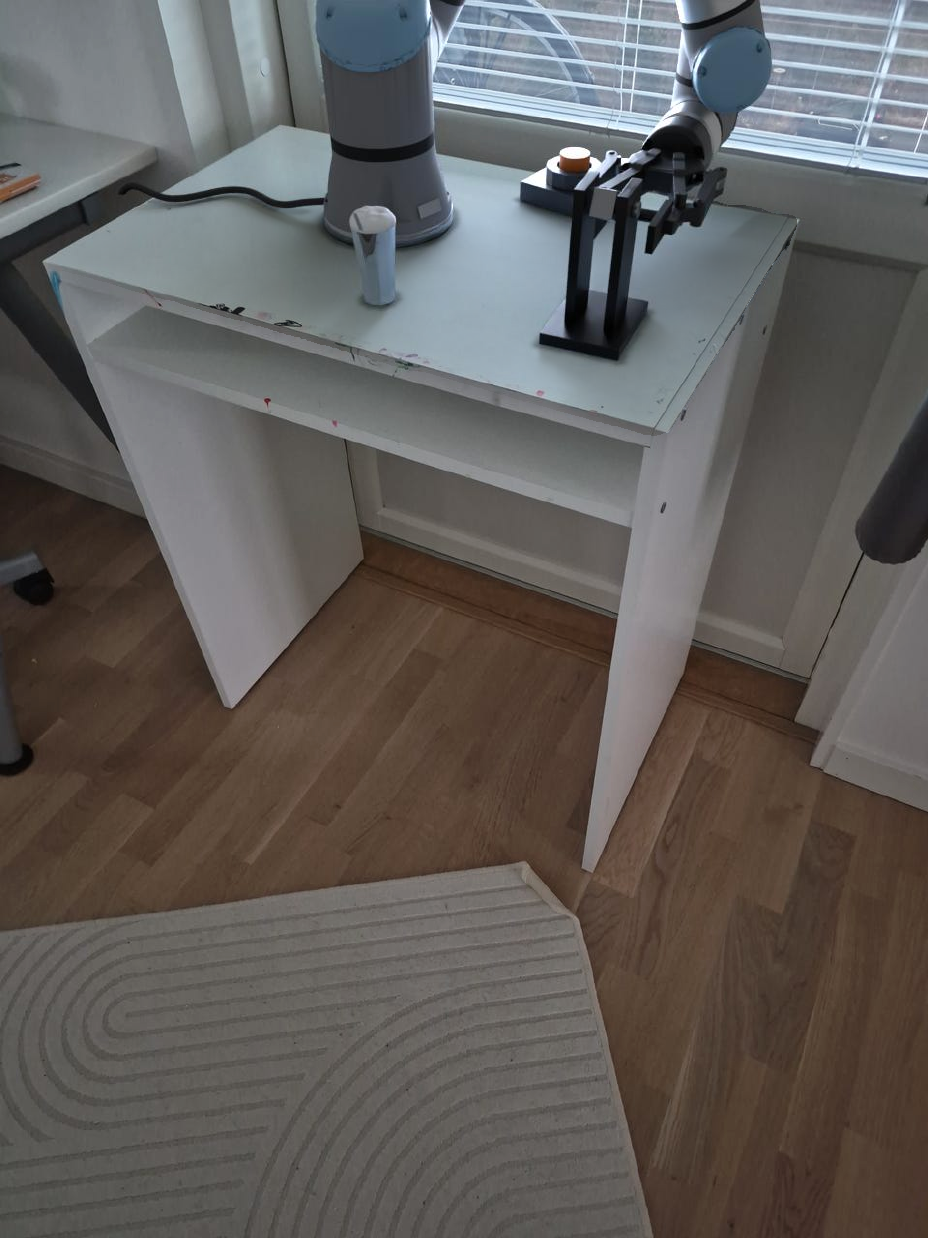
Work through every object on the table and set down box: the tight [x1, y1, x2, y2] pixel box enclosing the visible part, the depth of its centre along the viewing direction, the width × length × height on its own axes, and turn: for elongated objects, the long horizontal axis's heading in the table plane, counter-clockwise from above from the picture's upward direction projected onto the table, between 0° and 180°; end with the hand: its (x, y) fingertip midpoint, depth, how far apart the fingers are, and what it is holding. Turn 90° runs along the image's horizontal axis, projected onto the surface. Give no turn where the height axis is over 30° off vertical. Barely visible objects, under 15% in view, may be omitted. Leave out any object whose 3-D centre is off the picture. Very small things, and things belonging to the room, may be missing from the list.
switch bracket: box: [538, 171, 649, 362], centre depth 83 cm, size 10×8×14 cm
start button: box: [559, 146, 591, 172], centre depth 105 cm, size 4×4×2 cm
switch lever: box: [589, 187, 659, 224], centre depth 84 cm, size 14×6×2 cm, turn 157°
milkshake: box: [349, 206, 396, 306], centre depth 89 cm, size 4×5×10 cm
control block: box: [519, 155, 602, 217], centre depth 107 cm, size 10×8×4 cm
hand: (619, 234), depth 86 cm, fingers closed on switch lever, 5 cm apart
